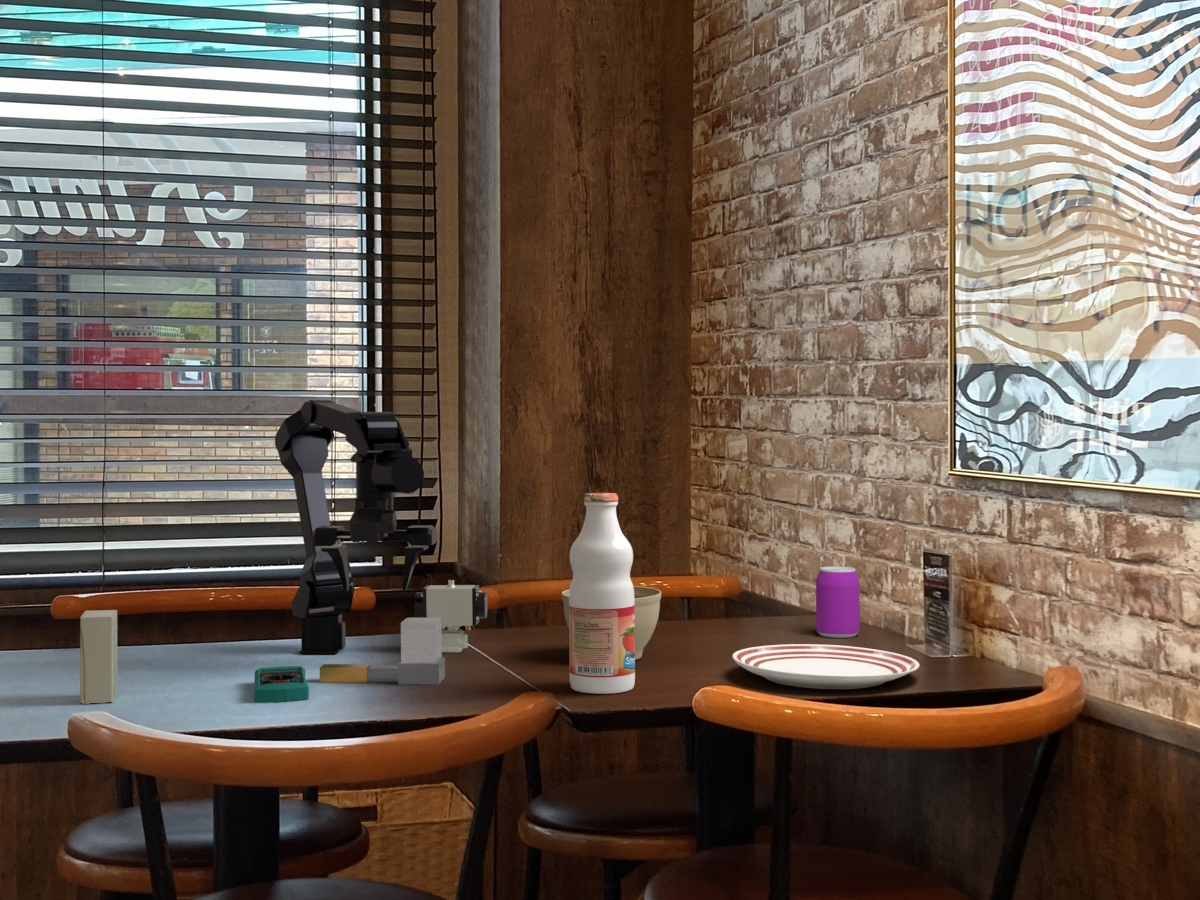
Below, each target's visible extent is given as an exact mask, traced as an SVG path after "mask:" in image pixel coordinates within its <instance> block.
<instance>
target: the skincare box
mask: <svg viewBox="0 0 1200 900" xmlns="http://www.w3.org/2000/svg"><path fill="white" fill-rule="evenodd" d="M79 636H80V637H79V638H80V640H79V641H80V646H79V647H80V650H79V651H80V657H79V660H80V663H79V664H80V667H79V668H80V669H79V670H80V671H79V672H80V673H79V677H80V680H79V681H80V682H79V685H80V688H79V689H80V690H79V692H80V694H79V695H80V697H79V700H80V701H79V702H80V703H79V704H81V703H82V704H81V705H91V704H90V703H100V704H107V703H106V702H112V703H114V701H115V699H116V697H117V696H118V609H108V610H107V609H105V610H104V609H102V610H99V609H98V610H84V612H83V613H82V615H81V616H80V634H79Z"/></svg>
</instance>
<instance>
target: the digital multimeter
mask: <svg viewBox="0 0 1200 900" xmlns="http://www.w3.org/2000/svg"><path fill="white" fill-rule="evenodd" d="M254 685H255V686H254V688H253V689H254V690H253V691H254V703H256V702H273V703H287V701H290V702H299V701H300V700H301V701H307V700H309V699H310V692H309V691H310V686H309V684H308V681H307V679H306V668H305V667H303V666H301V665H290V666H289V665H287V666H271V667H270V666H269V667H259V668H257V669H256V670H255V671H254Z"/></svg>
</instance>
